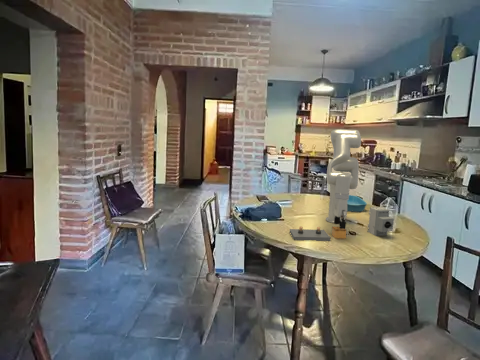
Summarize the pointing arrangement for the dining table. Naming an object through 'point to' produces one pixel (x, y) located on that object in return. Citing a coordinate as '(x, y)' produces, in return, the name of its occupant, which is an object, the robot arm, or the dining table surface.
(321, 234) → the plate
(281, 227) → the dining table surface
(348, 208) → the casserole dish
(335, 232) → the orange panelled cube
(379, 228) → the circuit breaker
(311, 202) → the dining table surface
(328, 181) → the robot arm
